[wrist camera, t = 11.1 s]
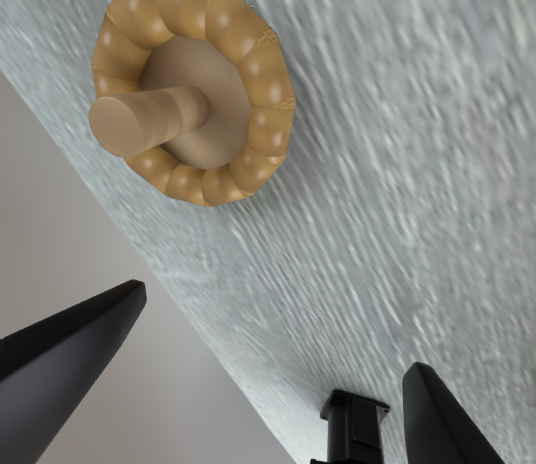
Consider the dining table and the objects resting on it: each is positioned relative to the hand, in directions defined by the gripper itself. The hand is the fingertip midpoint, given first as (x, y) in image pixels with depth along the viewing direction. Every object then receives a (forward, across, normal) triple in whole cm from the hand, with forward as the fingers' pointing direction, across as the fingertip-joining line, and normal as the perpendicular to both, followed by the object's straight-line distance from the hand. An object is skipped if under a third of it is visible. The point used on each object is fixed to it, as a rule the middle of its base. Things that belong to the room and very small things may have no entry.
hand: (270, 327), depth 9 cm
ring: (+10, +8, -4) cm, 13 cm away
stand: (+12, +8, -4) cm, 15 cm away
